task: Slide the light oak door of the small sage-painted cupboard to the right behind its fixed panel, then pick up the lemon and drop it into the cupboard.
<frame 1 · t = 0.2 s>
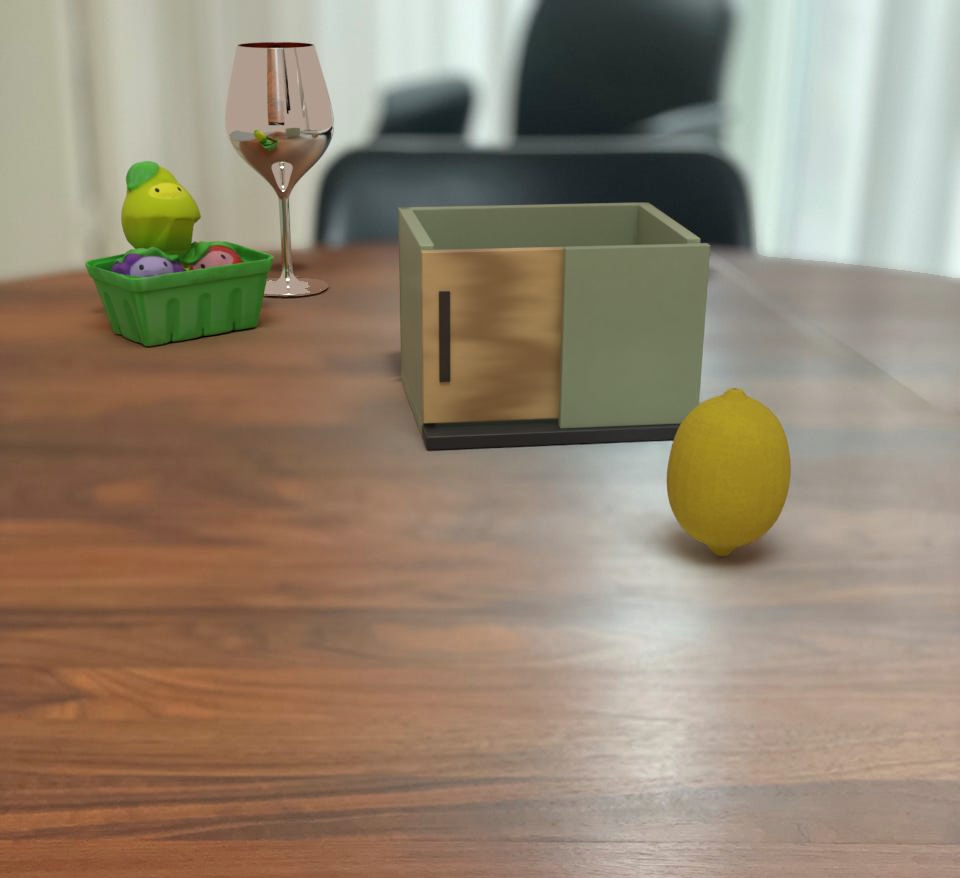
wineglass: (288, 290, 119), on the table
lemon: (720, 559, 70), on the table
closet door: (492, 336, 83), point 6 cm above the table, slide at 0.0 cm
cupboard: (538, 402, 91), on the table
fruit basket: (181, 331, 107), on the table
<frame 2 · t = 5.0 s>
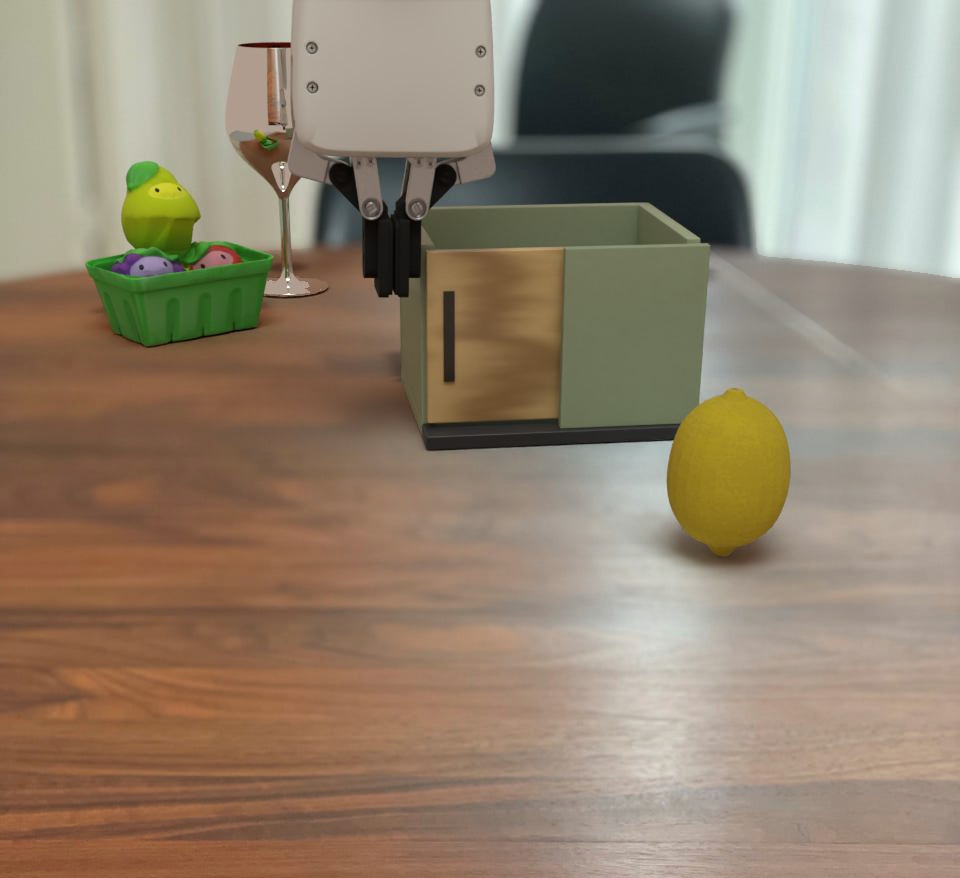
hand: (391, 291, 80), 9 cm above the table, tool pointing down, fingers closed
nothing on the table moved.
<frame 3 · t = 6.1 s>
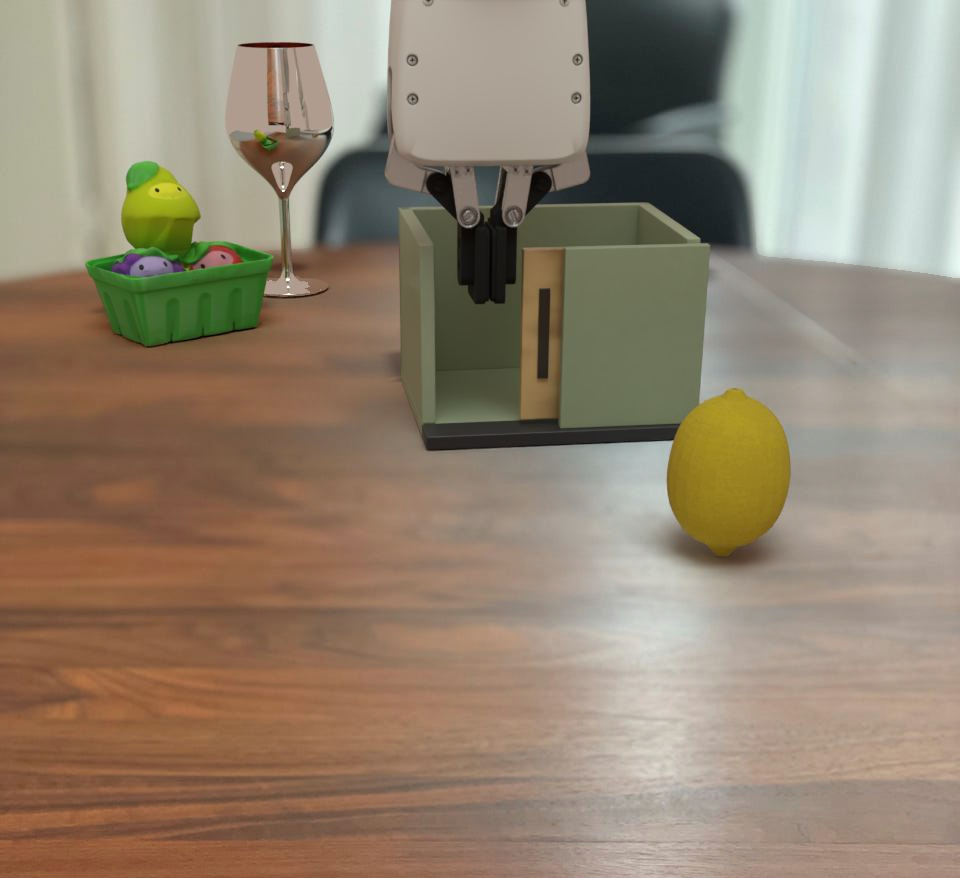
hand: (486, 297, 81), 8 cm above the table, tool pointing down, fingers closed
closet door: (590, 333, 83), point 6 cm above the table, slide at 5.5 cm, touching gripper
everything else where it was.
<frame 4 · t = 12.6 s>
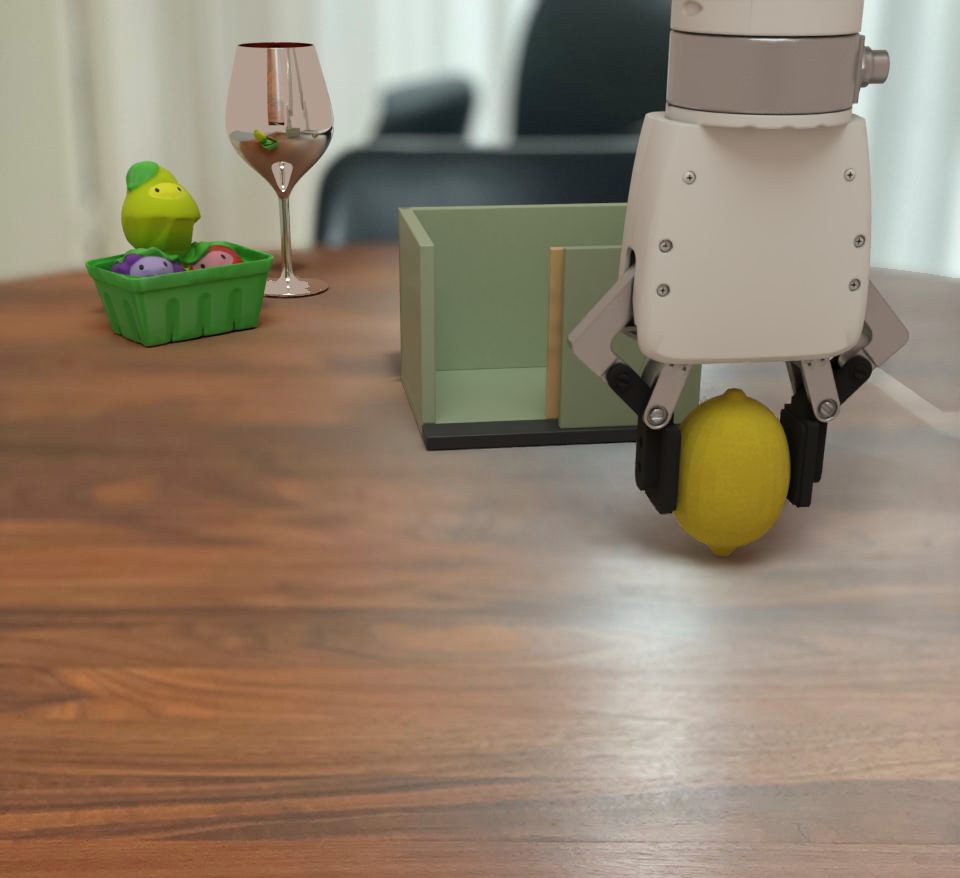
hand: (726, 496, 68), 3 cm above the table, tool pointing down, fingers closed on lemon, 5 cm apart
lemon: (720, 559, 70), on the table, touching gripper
closet door: (616, 332, 84), point 6 cm above the table, slide at 7.0 cm
everything else where it was.
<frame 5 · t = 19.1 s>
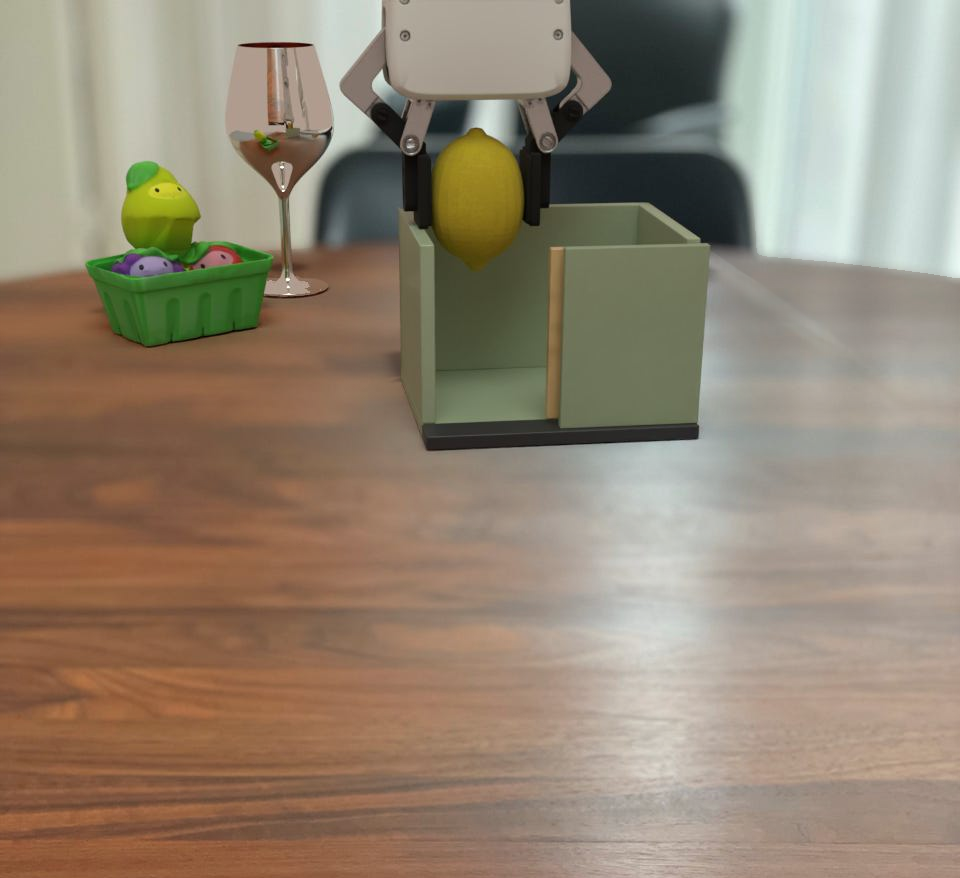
hand: (475, 220, 86), 11 cm above the table, tool pointing down, fingers closed on lemon, 5 cm apart
lemon: (475, 274, 87), point 8 cm above the table, touching gripper
everything else where it was.
when the fingers open (11 cm above the table, at t = 19.2 s): lemon drops 3 cm, resting on cupboard.
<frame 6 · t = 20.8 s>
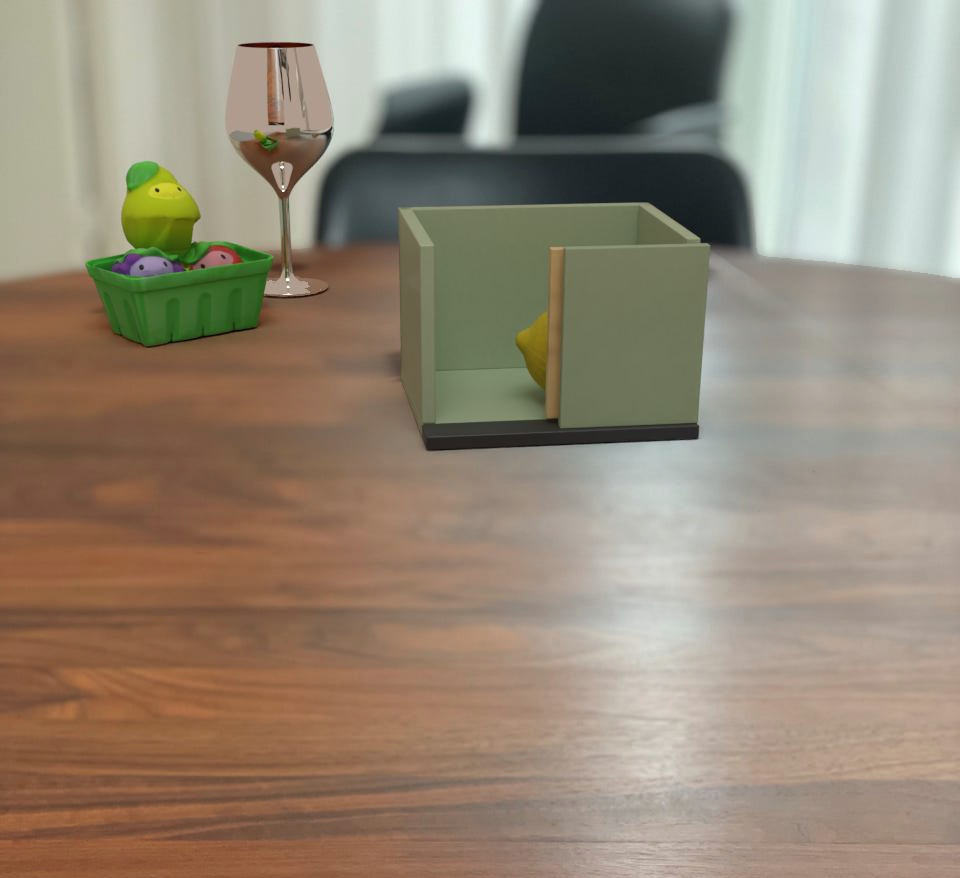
lemon: (512, 337, 87), point 5 cm above the table, touching cupboard
everything else where it was.
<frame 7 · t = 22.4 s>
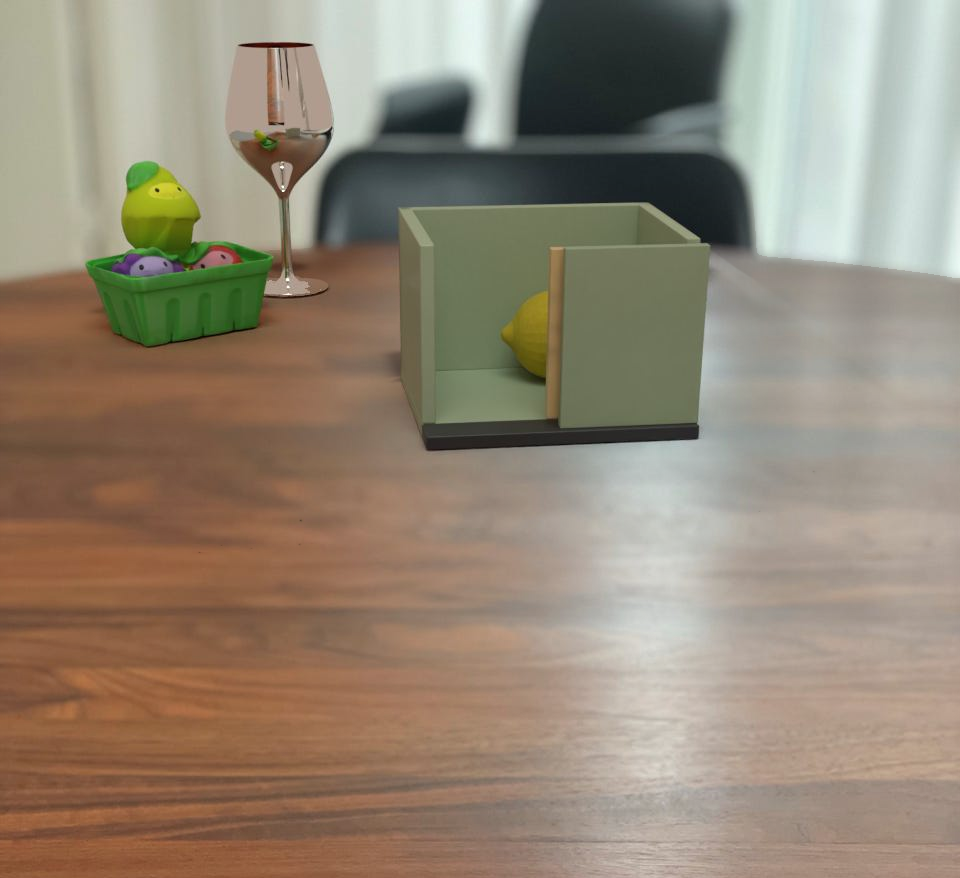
lemon: (497, 334, 92), point 4 cm above the table, touching cupboard
everything else where it was.
at the end: closet door slide at 7.0 cm; lemon inside the target area on the cupboard (3.3 cm from its centre), point 3.6 cm above the cupboard's base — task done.
